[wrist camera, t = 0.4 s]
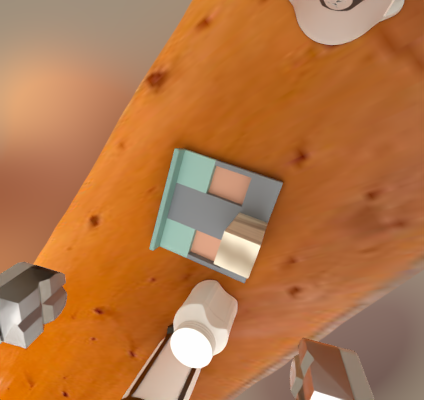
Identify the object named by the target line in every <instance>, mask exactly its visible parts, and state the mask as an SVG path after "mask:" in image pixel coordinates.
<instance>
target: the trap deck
mask: <svg viewBox="0 0 424 400" xmlns="http://www.w3.org/2000/svg"><path fill="white" fill-rule="evenodd" d="M282 184H283V182H282V181H279V180H276V179H273V178H270V177H267V176H264V175H261V174H258V173H255V172H252V171H249V170H246V169H243V168H240V167H237V166H234V165H232V164H229V163H226V162H223V161H220V160H217V159H214V158H211V157H208V156H205V155H202V154H199V153H196V152H193V151H190V150H187V149H180V148H175V150H174V154H173V158H172V162H171V165H170V169H169V173H168V177H167V181H166V185H165V189H164V193H163V197H162V201H161V205H160V209H159V213H158V217H157V221H156V225H155V228H154V232H153V236H152V240H151V244H150V248H149V249H150V250H153V251H154V250H155V249H156V248H158V247H159V246H161V247H163V248H165V249H168V250H170V251H172V252H174V253H177V254H179V255H181V256H183V257H186V258H188V259H190V260H193V261H195V262H197V263H199V264H202V265H204V266H206V267H208V268H211V269H213V270H215V271H218V272H220V273H222V274H224V275H227V276H229V277H231V278H233V279H236V280H238V281H240V282H243V283H245V281H246V278H245V277H243V276H241V275H238V274H236V273H234V272H231V271H229V270H227V269H224V268H222V267H220V266H218V265H215V264H214V261H215V258H216V255H217V252H218V249H219V246H220V243H221V240H222V237H223V234H224V231H225V230H226V229H227V227H228V226H229V225H230V224H231V222H232V221H233V220H234V219H235V217H236V216H237V215H238V214H239V213H243V214H245V215H248V216H251V217H253V218H256V219H258V220H261V221H264V222H266V223H268V221H269V218H270V216H271V213H272V210H273V208H274V205H275V203H276V200H277V197H278V195H279V192H280V190H281V187H282Z"/></svg>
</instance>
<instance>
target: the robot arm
mask: <svg viewBox="0 0 424 400" xmlns="http://www.w3.org/2000/svg"><path fill="white" fill-rule="evenodd" d="M289 1H290V2H291V4H292V5H293V6H294V9H295V13H296V18H297V21H298V24H299V26H300V28H301V29H302V31H303V32H304V33H305V34H306V35H307V36H308V37H309V38H311V39H312V40H314V41H316V42H318V43H321V44H326V45H338V44H343V43H347V42H350V41H352V40H354V39H356V38H358V37H360V36H361V35H363V34H364V33H366V32H367V31H368V30H369V29H371V28H372V27H373V26H374V25H375V24H377V23H378V22H380V21H383V20H385V19H388V18H390V17H392V16H394V15H396V14H397V13H398V12H399V11H400V10H401V8H402V6H403V4H404V0H289ZM65 283H66V281H65V275H64V274H63V273H61V272H57V271H54V270H51V269H47V268H44V267H41V266H37V265H33V264H30V263H26V262H21V263H17V264H16V265H14V266H13V267H11V268H9V269H8V270H6V271H4V272H3V273H1V274H0V344H1V343H2V342H5V343H9V344H12V345H16V346H19V347H23V348H27V347H28V346H29V345H30V344H31V343H32V342H33V341H34V340H35V339H36V338H37V337H38V336H39V335H40V334H41V333H42V332H43V330H44V325H45V324H47V323H49V322H51V321H53V320H55V319H56V318H57V317H58V316H59V315H60V313H61V312H62V310H63V308H64V306H65V304H66V300H67V293H66V291H65V290H64V288H63V287H62V286H63V285H64V284H65ZM1 341H2V342H1ZM298 351H299V354H298V355H296V356H294V358H293V361H292V364H291V372H290V389H291V392H292V394H293V395H294V397H295V400H374V397H373V394H372V391H371V389H370V386H369V384H368V381H367V378H366V376H365V373H364V370H363V368H362V365H361V363H360V360H359V357H358V355H357V354H356V352H355V351H352V350H348V349H344V348H340V347H335V346H332V345H328V344H324V343H321V342H317V341H313V340H309V339H306V338H302V339H301V340H300V342H299V345H298Z"/></svg>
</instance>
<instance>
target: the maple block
mask: <svg viewBox="0 0 424 400" xmlns="http://www.w3.org/2000/svg"><path fill="white" fill-rule="evenodd" d="M267 224H268V223H266V222H264V221H261V220H258V219H256V218H253V217H251V216H248V215H245V214H243V213H239V214H238V215H237V216H236V217H235V219H234V220H233V221H232V222H231V224H230V225H229V226H228V227H227V229H226V230H225V231H224V234H223V237H222V240H221V243H220V246H219V249H218V252H217V255H216V258H215V261H214V264H215V265H218V266H220V267H222V268H224V269H227V270H229V271H231V272H234V273H236V274H238V275H241V276H243V277H245V278H249V275H250V272H251V270H252V267H253V265H254V262H255V259H256V257H257V254H258V252H259V249H260V246H261V243H262V240H263V237H264V233H265V230H266V227H267Z"/></svg>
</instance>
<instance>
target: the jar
mask: <svg viewBox="0 0 424 400" xmlns="http://www.w3.org/2000/svg"><path fill="white" fill-rule="evenodd" d="M237 309H238V303H237V300H236V299H235V298H234V297H232V296H231V295H229V294H228V293H227V292H226V291H225V290H224V289H223V288H222V287H221V285H220V283H219V282H218V281H216V280H205V281H202V282H200V283H198V284H197V285H196V286H195V287H194V288H193V290H192V291H191V293H190V295H189V296H188V298H187V299H186V301H185V302H184V304H183V305H182V306H181V307H180V309H179V310H178V311H177V313H176V315H175V317H174V321H173V327H174V333H173V335H172V337H171V340H170V345H171V349H172V352H173V354H174V355H175V357H176V358H177V359H178V360H179V361H180V362H181V363H182V364H184V365H186V366H188V367H191V368H202V367H205V366H206V365H208V364H209V362H210V361H211V359H212V357H213V355H216V354H218V353H220V352H221V351H222V350H223V349H224V348H225V346H226V344H227V341H228V338H229V333H230V330H231V327H232V324H233V321H234V318H235V316H236V313H237Z"/></svg>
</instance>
